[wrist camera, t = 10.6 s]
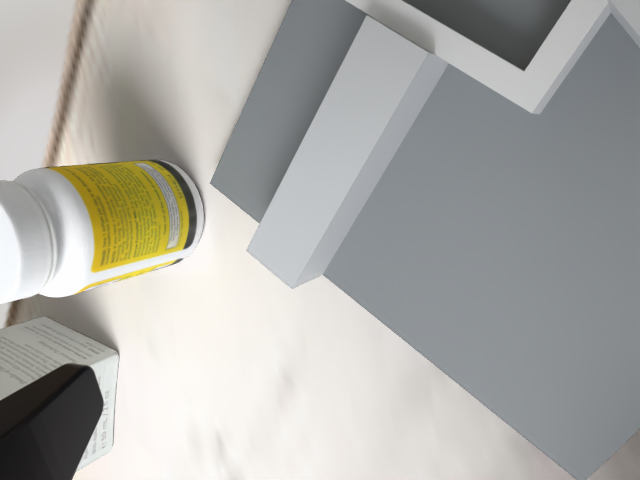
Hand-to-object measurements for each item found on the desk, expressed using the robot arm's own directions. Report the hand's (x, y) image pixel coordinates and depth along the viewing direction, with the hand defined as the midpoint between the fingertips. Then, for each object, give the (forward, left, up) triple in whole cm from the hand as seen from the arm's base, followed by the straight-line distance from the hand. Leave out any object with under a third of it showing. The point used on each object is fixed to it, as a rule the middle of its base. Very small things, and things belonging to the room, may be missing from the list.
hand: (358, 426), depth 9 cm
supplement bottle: (+13, +7, -12) cm, 19 cm away
